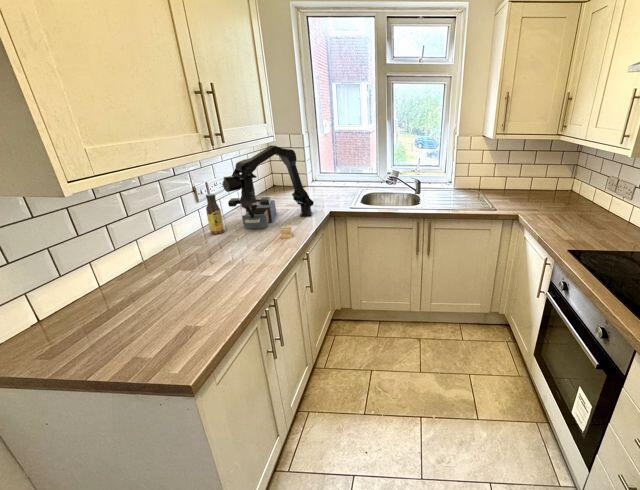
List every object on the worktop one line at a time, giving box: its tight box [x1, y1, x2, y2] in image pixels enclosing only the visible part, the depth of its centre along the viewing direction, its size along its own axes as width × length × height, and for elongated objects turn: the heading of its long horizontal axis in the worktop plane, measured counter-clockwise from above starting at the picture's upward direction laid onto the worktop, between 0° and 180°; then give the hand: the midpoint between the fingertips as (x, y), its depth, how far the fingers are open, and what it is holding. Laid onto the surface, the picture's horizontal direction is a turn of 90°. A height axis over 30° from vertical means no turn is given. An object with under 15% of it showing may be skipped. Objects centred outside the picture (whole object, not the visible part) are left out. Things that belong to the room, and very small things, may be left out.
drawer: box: [241, 209, 270, 229], centre depth 167 cm, size 18×11×7 cm, turn 11°
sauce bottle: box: [205, 193, 225, 235], centre depth 157 cm, size 7×6×20 cm
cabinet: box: [245, 199, 277, 223], centre depth 179 cm, size 15×13×9 cm
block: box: [280, 226, 293, 239], centre depth 156 cm, size 4×4×4 cm
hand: (252, 217), depth 160 cm, fingers closed
